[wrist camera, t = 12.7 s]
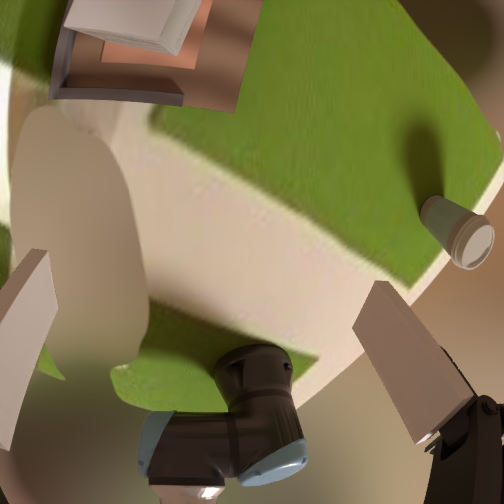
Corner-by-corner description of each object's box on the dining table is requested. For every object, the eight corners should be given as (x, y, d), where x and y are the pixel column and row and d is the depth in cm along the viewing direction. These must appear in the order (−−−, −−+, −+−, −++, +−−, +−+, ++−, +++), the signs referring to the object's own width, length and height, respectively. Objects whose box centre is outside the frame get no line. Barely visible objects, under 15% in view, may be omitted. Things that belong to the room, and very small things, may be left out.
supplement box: (137, -16, 19) (105, -63, 8) (204, -2, 21) (208, -50, 11) (110, 44, 22) (59, 27, 12) (177, 59, 25) (160, 42, 14)
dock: (231, 111, 31) (235, 115, 27) (66, 95, 26) (48, 99, 22) (267, -24, 23) (277, -38, 19) (100, -38, 18) (87, -51, 14)
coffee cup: (408, 235, 45) (451, 277, 35) (418, 186, 40) (470, 222, 30) (443, 231, 46) (485, 268, 36) (454, 187, 41) (503, 219, 31)
